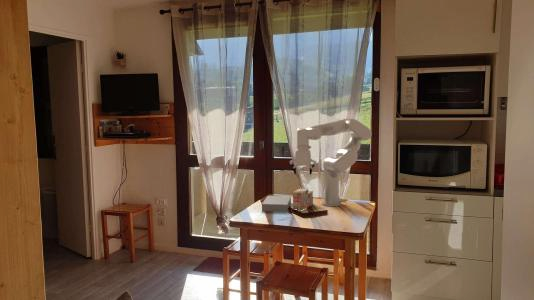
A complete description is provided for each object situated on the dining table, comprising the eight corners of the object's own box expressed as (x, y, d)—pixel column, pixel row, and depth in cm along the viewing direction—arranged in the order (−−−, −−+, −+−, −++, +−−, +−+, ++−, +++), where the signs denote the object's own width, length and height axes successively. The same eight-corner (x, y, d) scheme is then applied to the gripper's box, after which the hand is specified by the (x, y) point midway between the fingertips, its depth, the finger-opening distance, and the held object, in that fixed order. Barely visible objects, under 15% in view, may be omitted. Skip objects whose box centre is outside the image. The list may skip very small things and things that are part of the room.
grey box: (291, 203, 292) (291, 196, 292) (287, 212, 267) (287, 204, 266) (267, 202, 294) (267, 195, 294) (261, 211, 269) (261, 204, 268)
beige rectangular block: (304, 203, 289) (304, 185, 288) (313, 204, 286) (313, 186, 285) (292, 210, 269) (292, 191, 268) (302, 211, 267) (302, 192, 266)
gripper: (316, 147, 276) (316, 173, 278) (290, 147, 279) (290, 173, 281) (316, 148, 269) (315, 175, 270) (288, 148, 272) (288, 175, 273)
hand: (302, 174), depth 275 cm, fingers open, 9 cm apart
